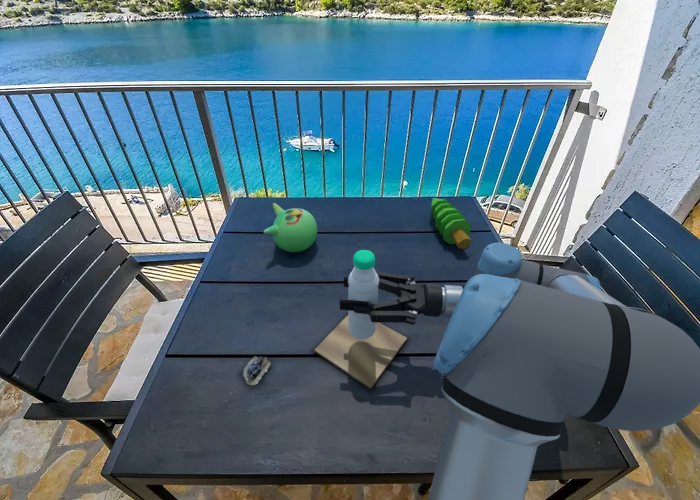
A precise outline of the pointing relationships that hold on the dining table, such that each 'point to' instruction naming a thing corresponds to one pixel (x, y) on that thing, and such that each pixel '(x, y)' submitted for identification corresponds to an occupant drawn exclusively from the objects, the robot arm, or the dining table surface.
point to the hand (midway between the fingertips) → (342, 292)
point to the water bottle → (362, 293)
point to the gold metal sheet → (361, 351)
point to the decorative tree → (451, 223)
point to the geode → (255, 369)
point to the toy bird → (293, 229)
